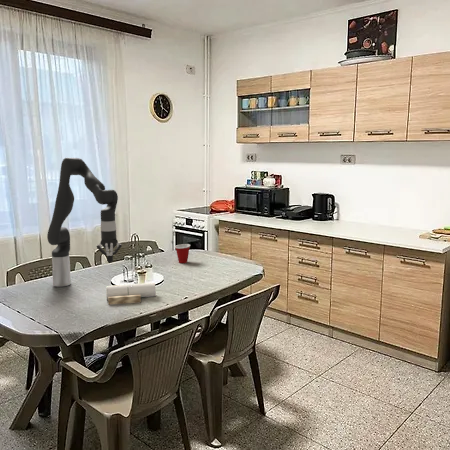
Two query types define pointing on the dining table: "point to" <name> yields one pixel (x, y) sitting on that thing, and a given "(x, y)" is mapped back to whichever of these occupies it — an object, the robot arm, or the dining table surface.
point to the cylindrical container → (132, 290)
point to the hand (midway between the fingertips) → (110, 262)
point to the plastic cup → (182, 252)
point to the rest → (124, 299)
